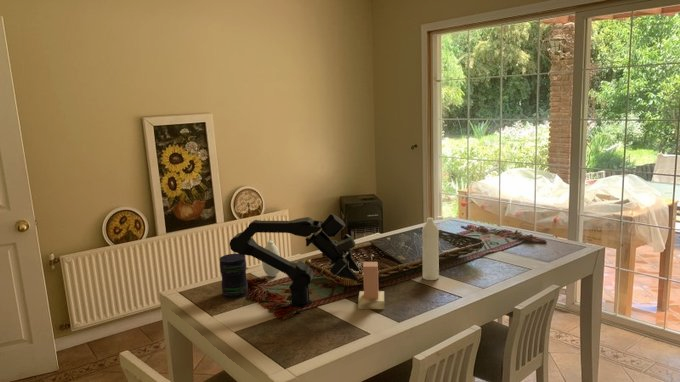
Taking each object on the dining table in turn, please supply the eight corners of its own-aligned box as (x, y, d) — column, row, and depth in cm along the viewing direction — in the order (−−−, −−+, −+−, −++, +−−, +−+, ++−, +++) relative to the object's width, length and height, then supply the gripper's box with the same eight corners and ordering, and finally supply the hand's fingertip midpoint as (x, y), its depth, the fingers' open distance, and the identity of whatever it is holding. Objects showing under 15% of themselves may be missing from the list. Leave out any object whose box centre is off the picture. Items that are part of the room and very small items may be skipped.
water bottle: (427, 281, 200) (426, 220, 195) (419, 276, 206) (419, 217, 201) (446, 278, 203) (446, 218, 198) (438, 273, 209) (438, 214, 204)
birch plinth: (358, 309, 177) (358, 301, 176) (359, 298, 186) (359, 291, 185) (383, 309, 176) (383, 301, 175) (384, 298, 185) (384, 291, 184)
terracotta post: (364, 298, 178) (363, 266, 176) (364, 293, 183) (363, 261, 181) (378, 298, 178) (377, 266, 175) (378, 293, 182) (377, 261, 180)
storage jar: (252, 290, 198) (249, 254, 196) (241, 300, 189) (238, 262, 186) (229, 288, 201) (226, 253, 198) (217, 298, 192) (214, 261, 189)
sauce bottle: (260, 279, 210) (257, 237, 207) (267, 272, 218) (264, 232, 214) (278, 280, 208) (275, 238, 205) (284, 273, 216) (281, 233, 213)
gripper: (338, 237, 168) (372, 268, 169) (343, 223, 186) (374, 251, 187) (316, 259, 170) (349, 290, 171) (323, 243, 188) (353, 271, 189)
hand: (357, 275), depth 179 cm, fingers open, 9 cm apart
